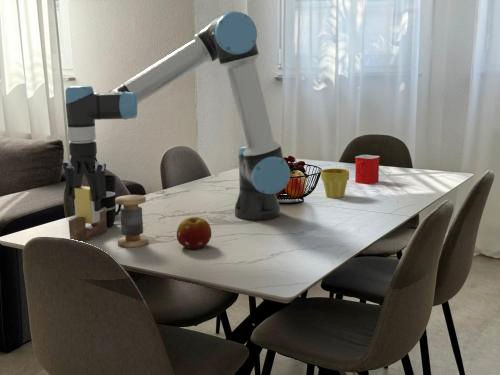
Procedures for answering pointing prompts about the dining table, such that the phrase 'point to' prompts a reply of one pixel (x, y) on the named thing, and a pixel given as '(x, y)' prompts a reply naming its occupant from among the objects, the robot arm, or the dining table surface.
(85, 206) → the yellow block
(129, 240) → the bobbin
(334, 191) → the plant pot
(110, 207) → the mug
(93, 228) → the notched board
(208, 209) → the dining table surface
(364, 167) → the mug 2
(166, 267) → the dining table surface
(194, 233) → the fruit
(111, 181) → the cup
